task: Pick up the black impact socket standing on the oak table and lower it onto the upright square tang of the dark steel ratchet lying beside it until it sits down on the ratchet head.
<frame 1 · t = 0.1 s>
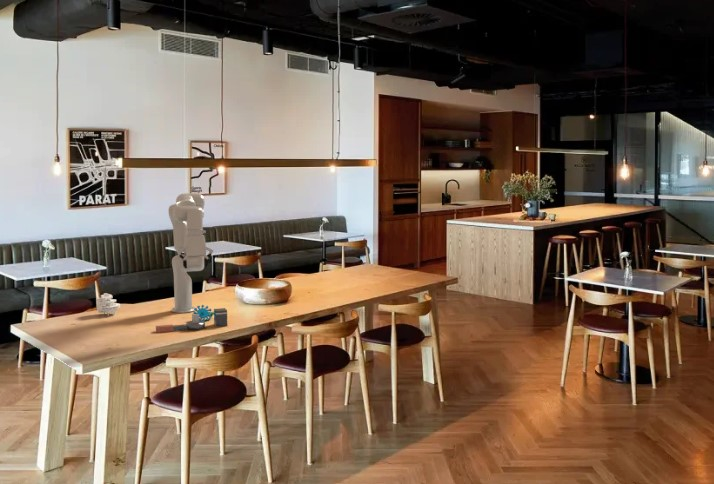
hand: (195, 267, 317), 31 cm above the table, tool pointing down, fingers open, 9 cm apart
ratchet: (195, 328, 323), on the table
blue spiky virus model: (204, 320, 341), on the table
socket: (220, 324, 330), on the table
mechanical part: (108, 315, 350), on the table
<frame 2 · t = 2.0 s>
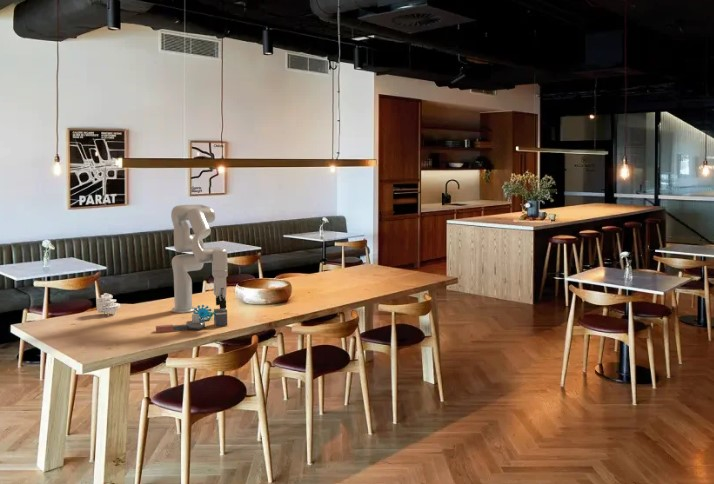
hand: (221, 306, 329), 10 cm above the table, tool pointing down, fingers open, 9 cm apart
nothing on the table moved.
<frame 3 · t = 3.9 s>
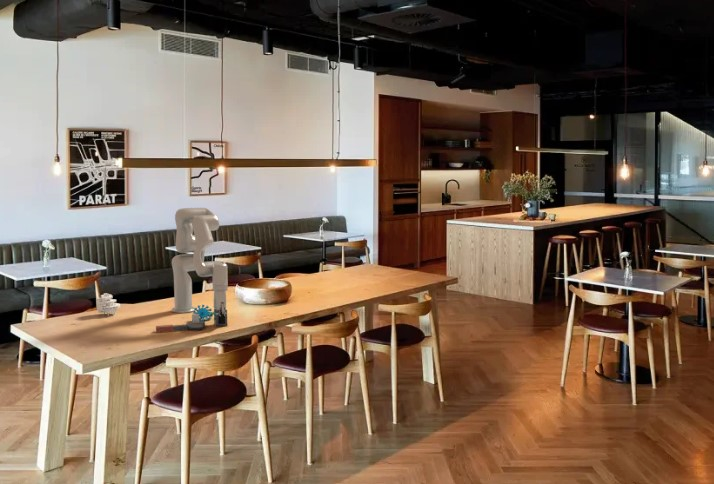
hand: (220, 322, 330), 2 cm above the table, tool pointing down, fingers closed on socket, 5 cm apart
socket: (220, 324, 330), on the table, touching gripper
everything else where it was.
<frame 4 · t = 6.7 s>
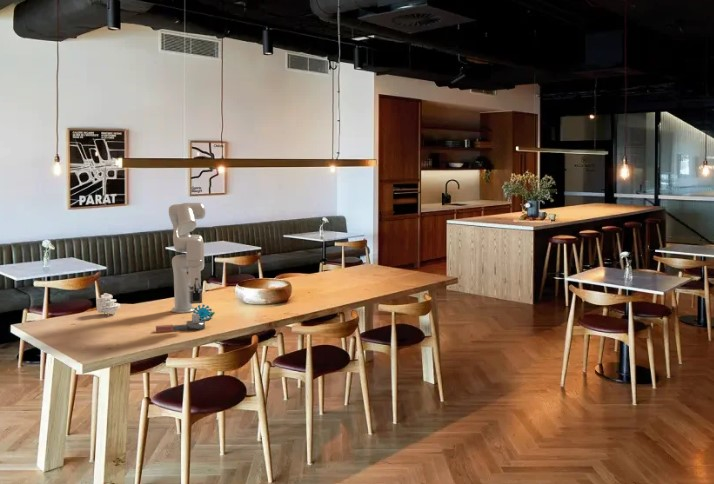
hand: (195, 299, 321), 15 cm above the table, tool pointing down, fingers closed on socket, 5 cm apart
socket: (195, 302, 321), point 13 cm above the table, touching gripper
everything else where it was.
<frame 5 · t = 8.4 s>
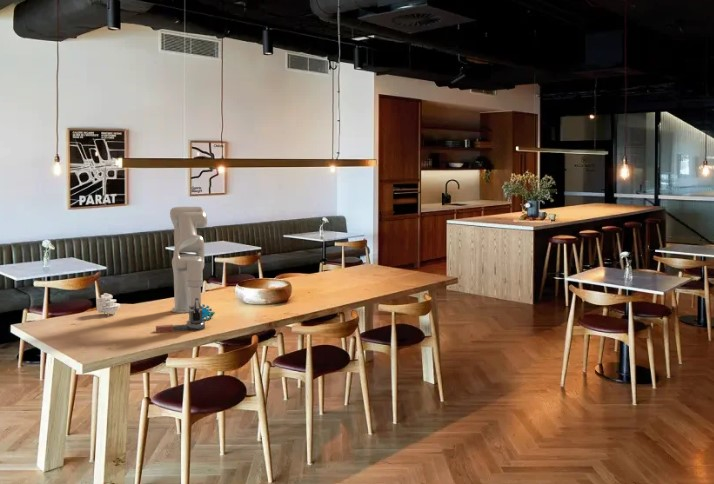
hand: (195, 318, 322), 5 cm above the table, tool pointing down, fingers closed on socket, 5 cm apart
socket: (195, 321, 322), point 3 cm above the table, touching gripper
when the fingers open (5 cm above the table, at t = 9.6 s): socket stays where it is, resting on ratchet.
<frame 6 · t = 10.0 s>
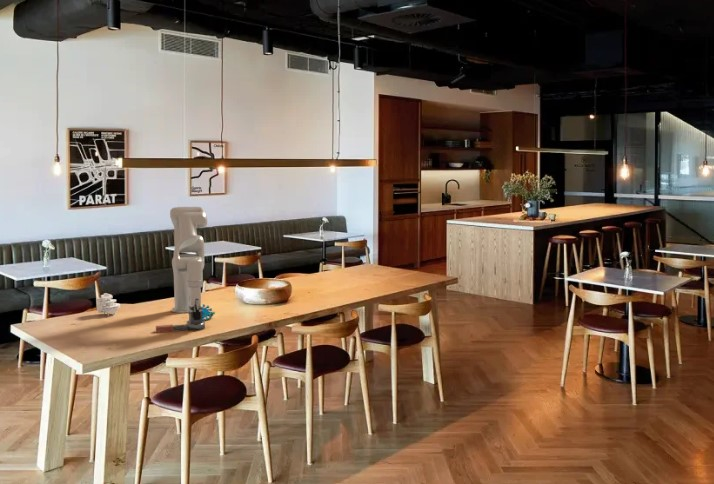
hand: (195, 317, 322), 6 cm above the table, tool pointing down, fingers open, 9 cm apart
socket: (195, 322, 322), point 3 cm above the table, touching ratchet
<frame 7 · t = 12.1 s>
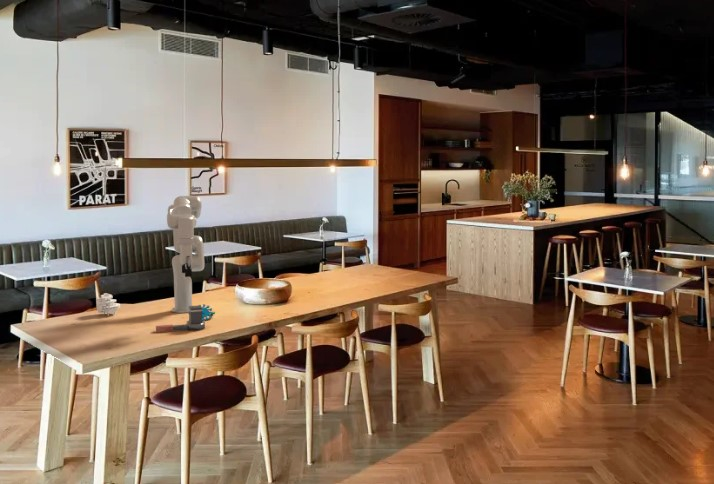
hand: (186, 274, 325), 26 cm above the table, tool pointing down, fingers open, 9 cm apart
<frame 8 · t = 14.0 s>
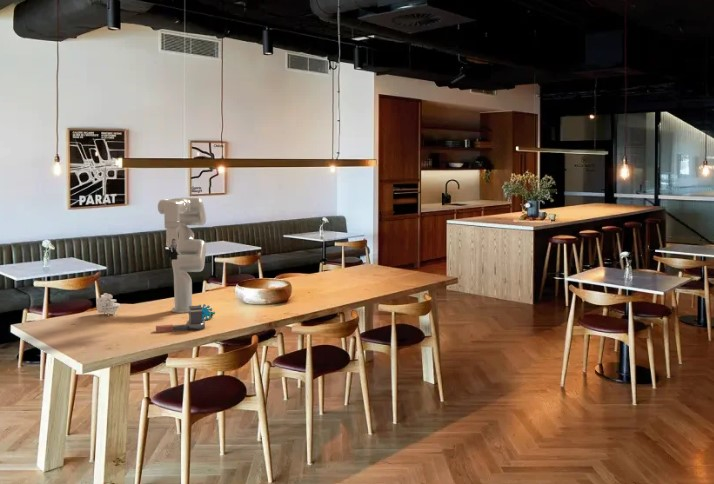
hand: (172, 258, 333), 33 cm above the table, tool pointing down, fingers open, 9 cm apart
at the end: socket 0.2 cm off-centre on the ratchet, point 3.0 cm above the ratchet's base; socket tilted 0°; the gripper is holding nothing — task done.
